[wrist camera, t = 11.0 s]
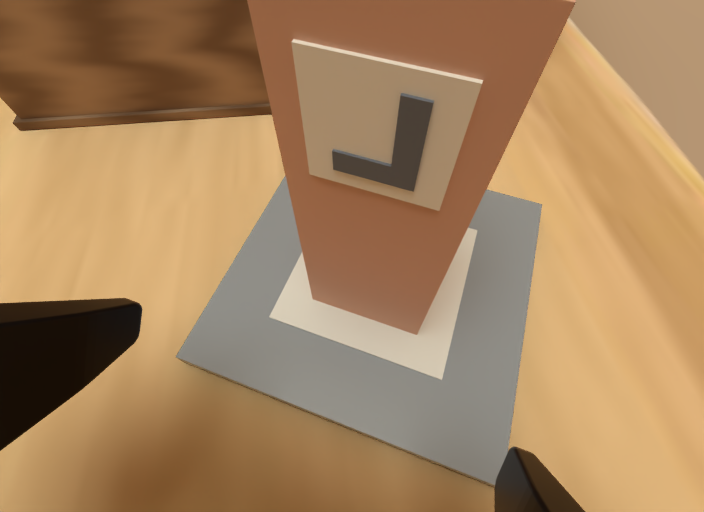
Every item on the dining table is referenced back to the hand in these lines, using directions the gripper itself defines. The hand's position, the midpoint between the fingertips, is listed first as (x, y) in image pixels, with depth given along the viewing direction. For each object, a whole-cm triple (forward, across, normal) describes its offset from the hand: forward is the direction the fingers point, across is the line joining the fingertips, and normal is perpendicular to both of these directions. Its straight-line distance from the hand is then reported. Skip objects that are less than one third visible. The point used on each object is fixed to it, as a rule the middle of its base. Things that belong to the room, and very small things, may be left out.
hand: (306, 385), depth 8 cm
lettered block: (+10, 0, 0) cm, 10 cm away
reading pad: (+11, 0, 0) cm, 11 cm away
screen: (+16, +18, -4) cm, 24 cm away
